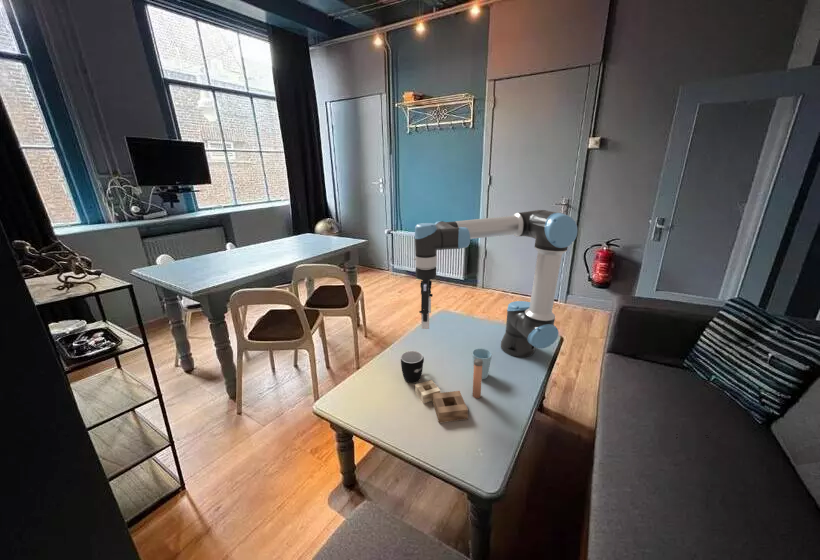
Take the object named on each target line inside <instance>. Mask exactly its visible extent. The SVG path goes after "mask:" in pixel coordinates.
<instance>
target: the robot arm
mask: <svg viewBox="0 0 820 560" xmlns="http://www.w3.org/2000/svg"><path fill="white" fill-rule="evenodd" d="M576 222H577V221H575V220H574V218H573V217H572V216H570V215H568V214H565V213H562V212H557V211H550V210H545V209H537V210H529V211H522V212H515V213H513V215H509V216H508V215H506V216H499V217H498V216H497V217H488V218H487V217H486V218H475V219H466V220H455V221H444V220H439V221H435V223H433V222H422V223H417V224H416V225H415V226H414V251H415V252H414V253H415V257H414V258H413V261H415V277H416V279H418V280H421V281H420V295H421V297H420V298H421V300H420V303H421V306H420V307H421V308H420V310H419V311H418V312H419V314H420V315H421V329H423V330H429V329H430V314H432V298H433V293H432V290H431V289H432V285H433V284H432V283H433V281H432V280H434V279H436V278H437V257H438V256H437V251H441V250H442V251H443V250H446V251H447V250H460V249H465V248H468V247H469V245H470V243H471V240H473V239H482V238H483V239H484V238H491V237H492V238H493V237H501V236H512V235H514V236H515V237H527V238H533V239H535V240H534V241H535V242H534V248H535V250H536V251H537V257H536V264H535V268H534V276H533V282H532V287H531V295H530V300H529V301H526V300H516V301H512V302H510V303H508V306H507V309H506V311H507V312H506V324H505V333H504V335H503V337H502V338H501V339H502V340H500V341H501V342H500V349H501V351H503V352H504V353H505V354H507V355H510V356H513V357H518V358H525V357H530V356H532V355H534V353H535V350H536V349H546V348H548V347H550V346H552V345H553V344H554V343H555V342H556V341H557V339H558V337H559V329H558V328H557V326H556V325H555V320H556V315H555V314H554V312H553V308H554V303H555V298H556V297H555V296H556V290H557V287H558V286H557V284H558V279H559V275H560V274H559V273H560V267H561V261H562V255H563V254H565V253H566V252H567V251H568V247H570V246H571V245H572V244H573V242H575V240H576V238H577V236H578V225H577V223H576Z"/></svg>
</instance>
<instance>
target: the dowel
mask: <svg viewBox="0 0 820 560" xmlns="http://www.w3.org/2000/svg"><path fill="white" fill-rule="evenodd" d="M482 365H483V361H482V360H481V359H475V360H474V368H473V379H472V395H471V396H472V398H473V399H480V398H482V397H481V396H482V381H483V379H482Z"/></svg>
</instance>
